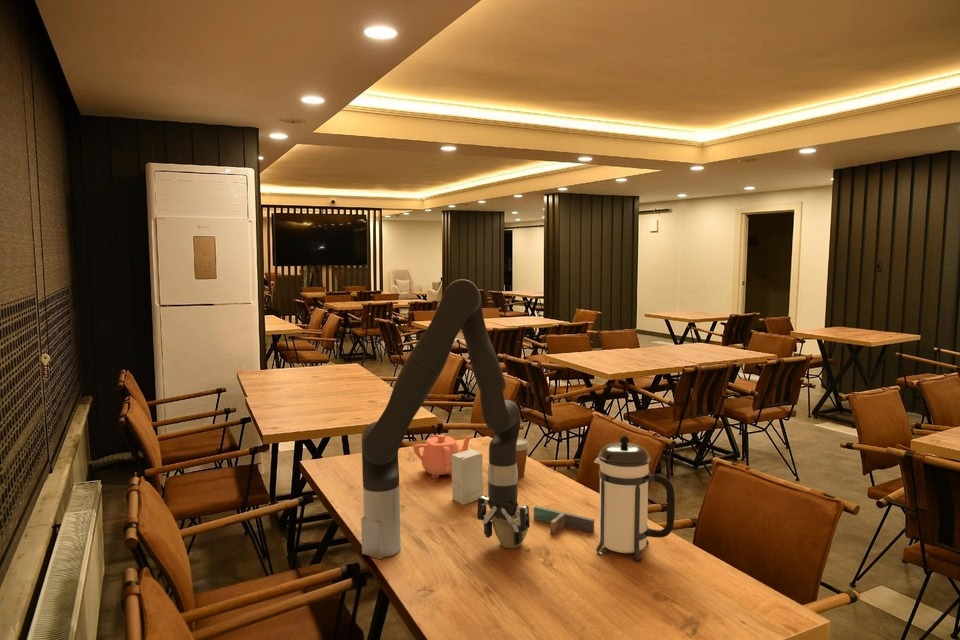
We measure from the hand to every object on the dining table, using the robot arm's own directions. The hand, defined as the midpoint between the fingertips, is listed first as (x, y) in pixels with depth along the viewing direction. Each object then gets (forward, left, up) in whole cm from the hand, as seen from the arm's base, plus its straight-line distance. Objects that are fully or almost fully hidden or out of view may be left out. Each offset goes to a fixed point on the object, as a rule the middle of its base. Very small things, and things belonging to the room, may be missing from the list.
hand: (503, 540), depth 164 cm
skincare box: (+24, +27, -3) cm, 36 cm away
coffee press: (+17, -27, -3) cm, 32 cm away
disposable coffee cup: (+51, +25, -3) cm, 57 cm away
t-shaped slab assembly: (+18, -7, -3) cm, 19 cm away
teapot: (+41, +48, -3) cm, 63 cm away
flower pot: (+4, 0, -3) cm, 5 cm away
